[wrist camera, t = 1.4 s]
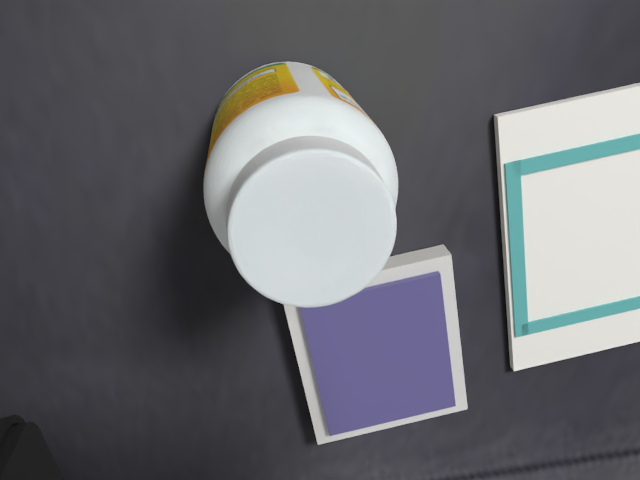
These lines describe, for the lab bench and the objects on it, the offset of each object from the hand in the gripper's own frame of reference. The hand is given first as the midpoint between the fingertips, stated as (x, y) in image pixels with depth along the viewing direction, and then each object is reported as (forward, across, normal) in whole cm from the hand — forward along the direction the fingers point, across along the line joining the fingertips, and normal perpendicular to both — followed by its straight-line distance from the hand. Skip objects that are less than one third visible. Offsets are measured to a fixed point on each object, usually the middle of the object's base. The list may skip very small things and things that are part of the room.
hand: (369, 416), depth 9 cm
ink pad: (+16, -2, +9) cm, 18 cm away
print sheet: (+16, -16, +6) cm, 23 cm away
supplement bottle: (+16, 0, -1) cm, 16 cm away
